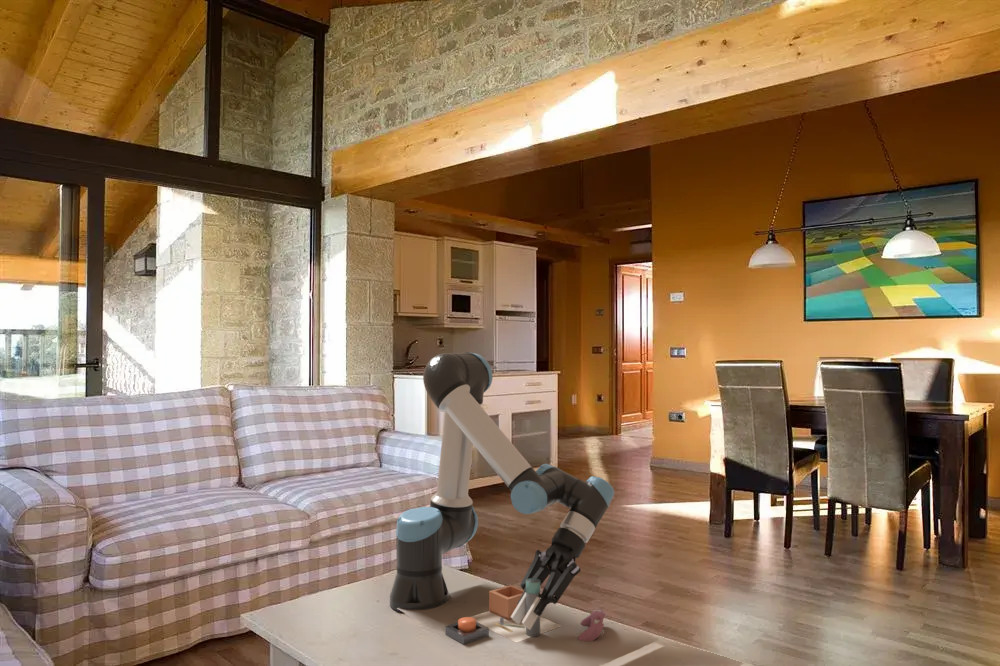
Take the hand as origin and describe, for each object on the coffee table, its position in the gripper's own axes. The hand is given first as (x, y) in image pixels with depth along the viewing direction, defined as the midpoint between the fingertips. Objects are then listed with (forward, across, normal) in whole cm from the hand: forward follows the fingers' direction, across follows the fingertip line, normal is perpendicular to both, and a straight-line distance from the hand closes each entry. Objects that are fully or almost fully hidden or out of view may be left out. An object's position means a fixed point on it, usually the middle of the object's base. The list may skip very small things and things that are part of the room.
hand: (520, 623), depth 157 cm
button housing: (+9, +9, +2) cm, 13 cm away
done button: (+7, +9, +4) cm, 12 cm away
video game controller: (-7, -8, -14) cm, 18 cm away
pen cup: (-3, +13, -8) cm, 16 cm away
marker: (0, 0, -5) cm, 5 cm away
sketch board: (0, +8, -7) cm, 10 cm away
